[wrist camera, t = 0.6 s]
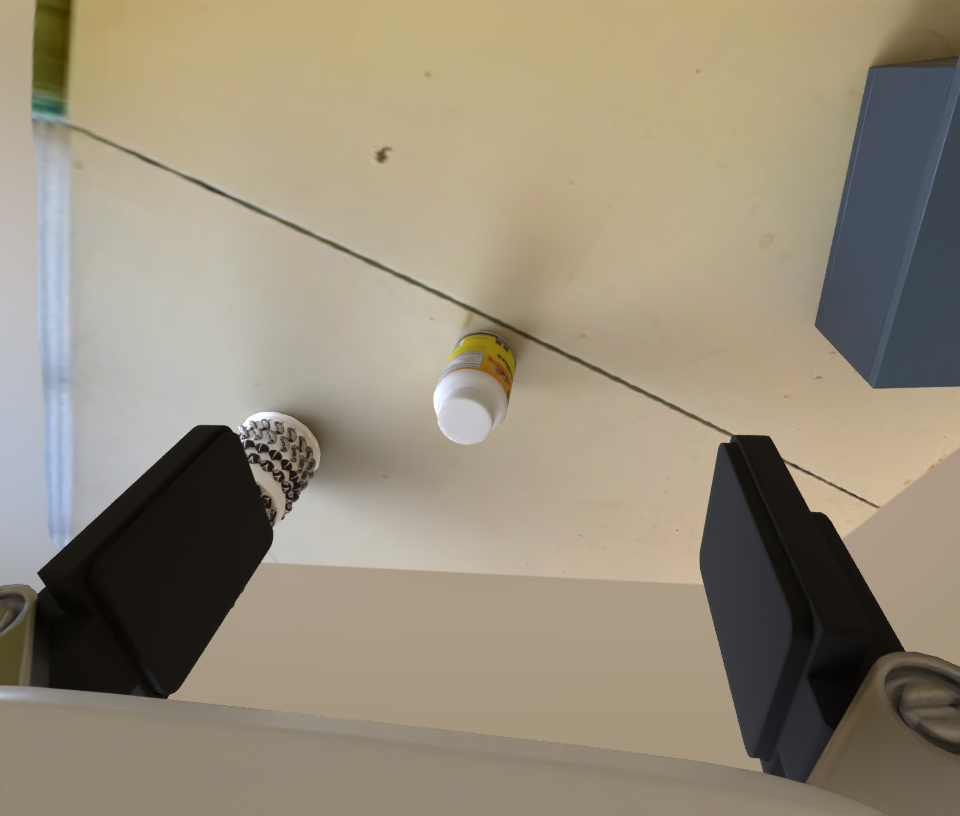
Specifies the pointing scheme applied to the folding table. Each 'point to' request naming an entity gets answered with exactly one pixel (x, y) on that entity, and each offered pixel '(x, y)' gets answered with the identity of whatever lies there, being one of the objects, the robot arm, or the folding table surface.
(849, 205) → the compartment
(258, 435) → the white patterned cylinder
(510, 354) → the supplement bottle
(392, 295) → the folding table surface
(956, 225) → the lid
